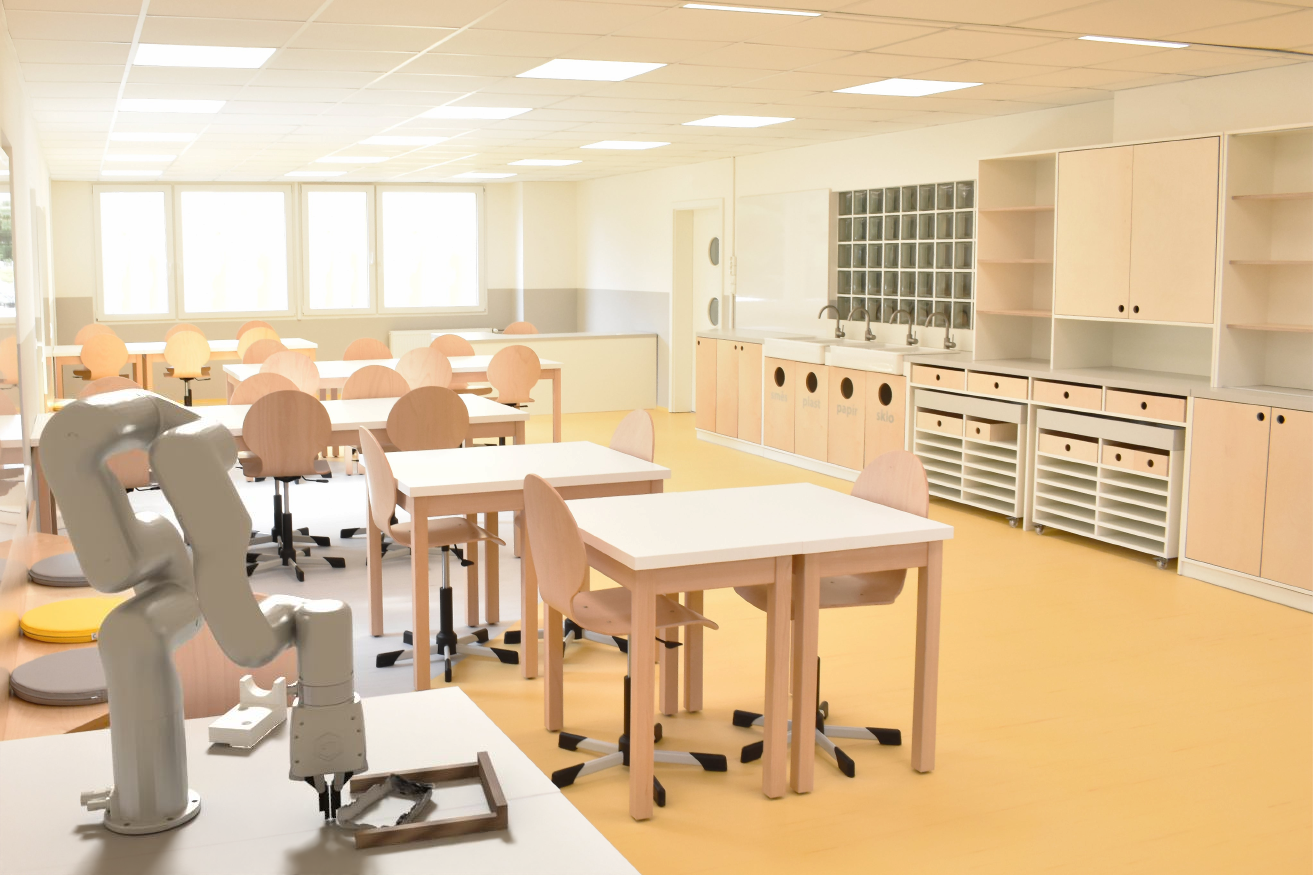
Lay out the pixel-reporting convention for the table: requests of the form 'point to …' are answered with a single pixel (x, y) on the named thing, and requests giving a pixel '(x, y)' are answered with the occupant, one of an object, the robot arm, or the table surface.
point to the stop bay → (444, 826)
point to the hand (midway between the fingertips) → (330, 814)
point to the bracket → (251, 714)
